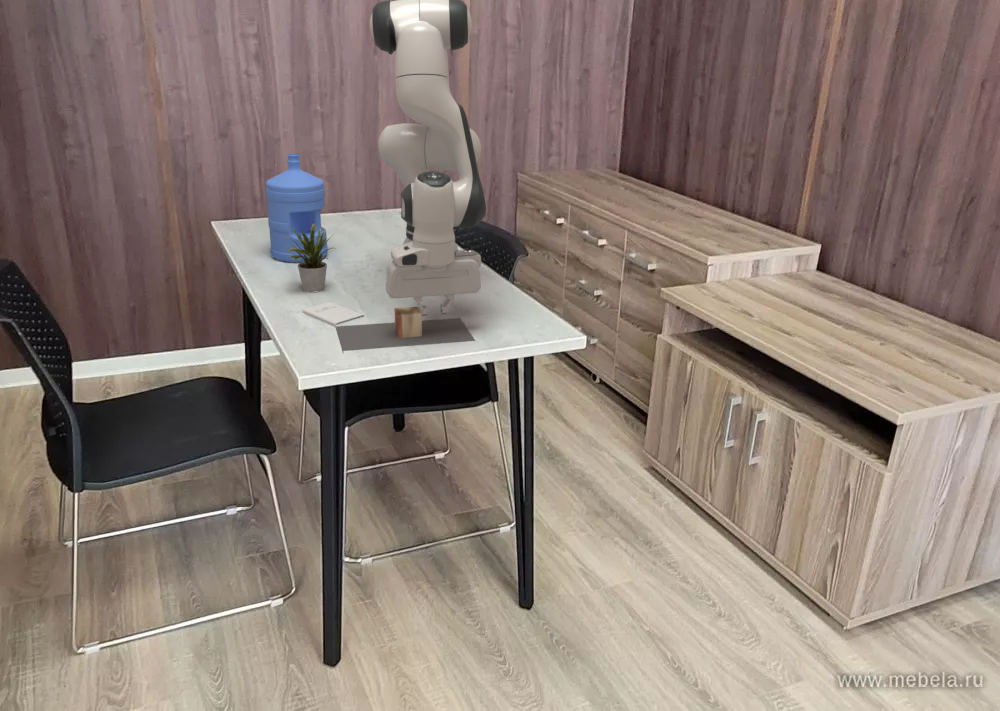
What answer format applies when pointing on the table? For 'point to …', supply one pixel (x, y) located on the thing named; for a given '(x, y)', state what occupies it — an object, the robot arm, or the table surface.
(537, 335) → the table surface
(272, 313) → the table surface
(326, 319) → the external hard drive
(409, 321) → the maple block
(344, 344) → the rubber mat
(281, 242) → the water jug
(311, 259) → the house plant
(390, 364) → the table surface
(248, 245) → the table surface
